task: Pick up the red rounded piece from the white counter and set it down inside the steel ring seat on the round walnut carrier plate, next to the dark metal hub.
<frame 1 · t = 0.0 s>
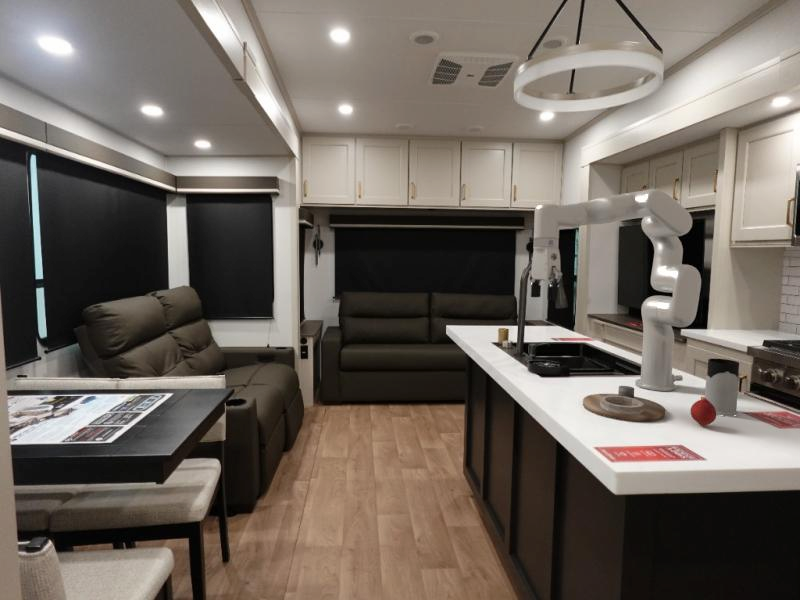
hand: (543, 298, 154), 31 cm above the worktop, tool pointing down, fingers open, 9 cm apart
carrier plate: (622, 409, 142), on the worktop
red rounded piece: (702, 426, 129), on the worktop
glass holder: (716, 409, 144), on the worktop
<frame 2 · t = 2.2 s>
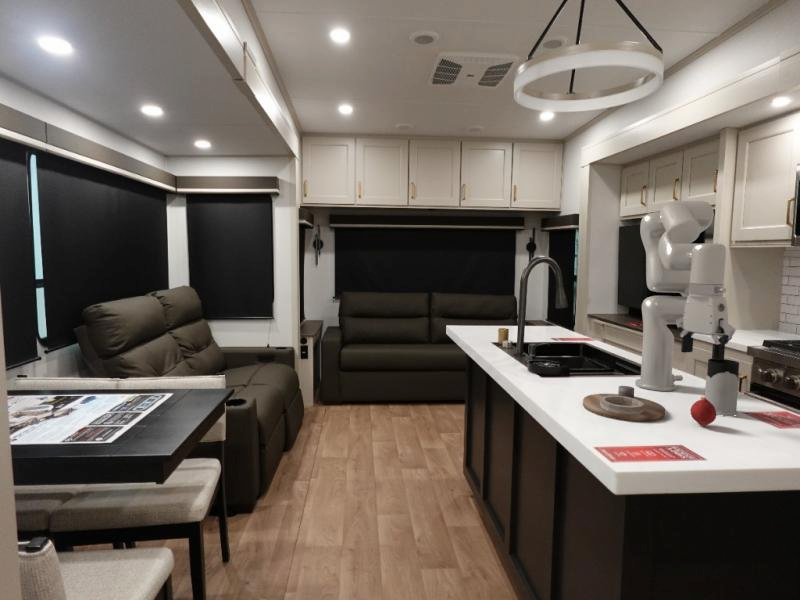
hand: (701, 355, 128), 19 cm above the worktop, tool pointing down, fingers open, 9 cm apart
nothing on the worktop moved.
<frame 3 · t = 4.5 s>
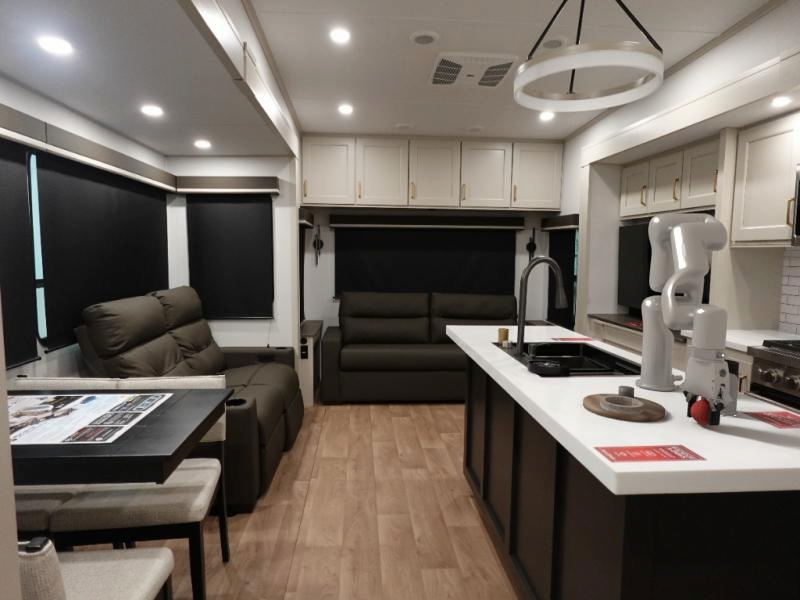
hand: (702, 420, 129), 2 cm above the worktop, tool pointing down, fingers closed on red rounded piece, 5 cm apart
red rounded piece: (702, 426, 129), on the worktop, touching gripper
everything else where it was.
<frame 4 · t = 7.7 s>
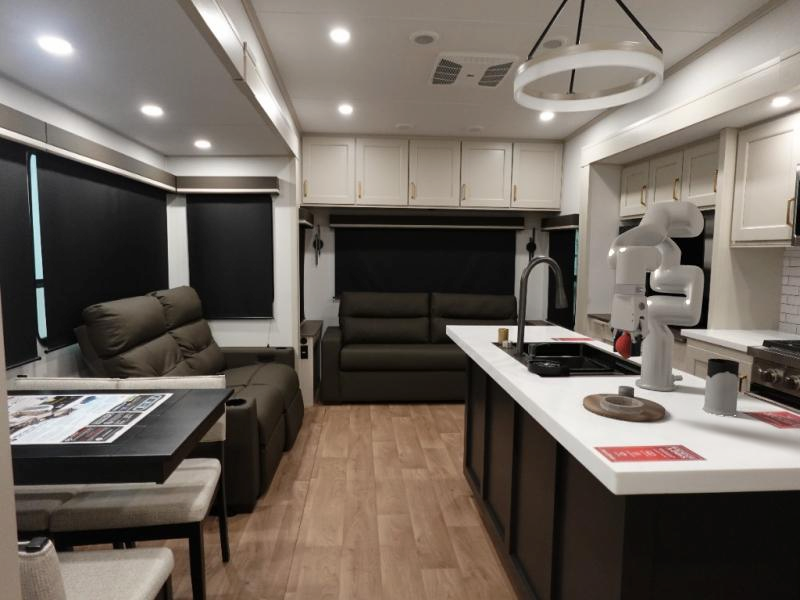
hand: (626, 353, 137), 17 cm above the worktop, tool pointing down, fingers closed on red rounded piece, 5 cm apart
red rounded piece: (626, 359, 137), point 16 cm above the worktop, touching gripper
everything else where it was.
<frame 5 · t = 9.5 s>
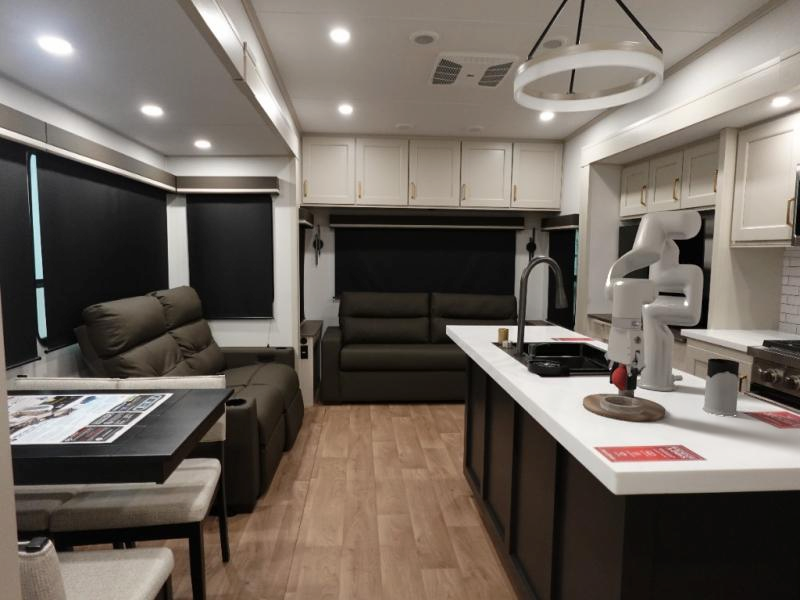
hand: (622, 385, 138), 8 cm above the worktop, tool pointing down, fingers closed on red rounded piece, 5 cm apart
red rounded piece: (622, 392, 138), point 6 cm above the worktop, touching gripper
everything else where it was.
when the fingers open (4 cm above the worktop, at t = 11.1 s): red rounded piece drops 1 cm, resting on carrier plate.
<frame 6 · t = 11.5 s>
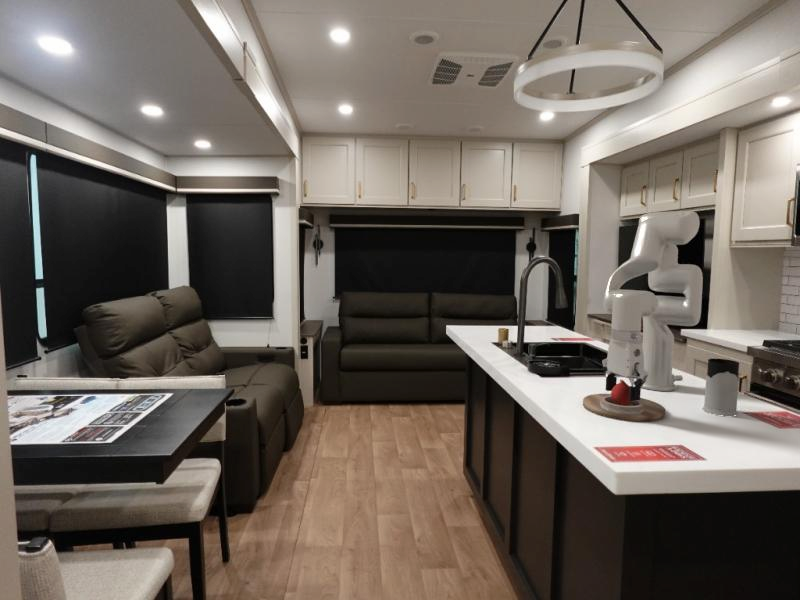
hand: (622, 395, 138), 5 cm above the worktop, tool pointing down, fingers open, 9 cm apart
red rounded piece: (621, 408, 139), point 1 cm above the worktop, touching carrier plate
everything else where it was.
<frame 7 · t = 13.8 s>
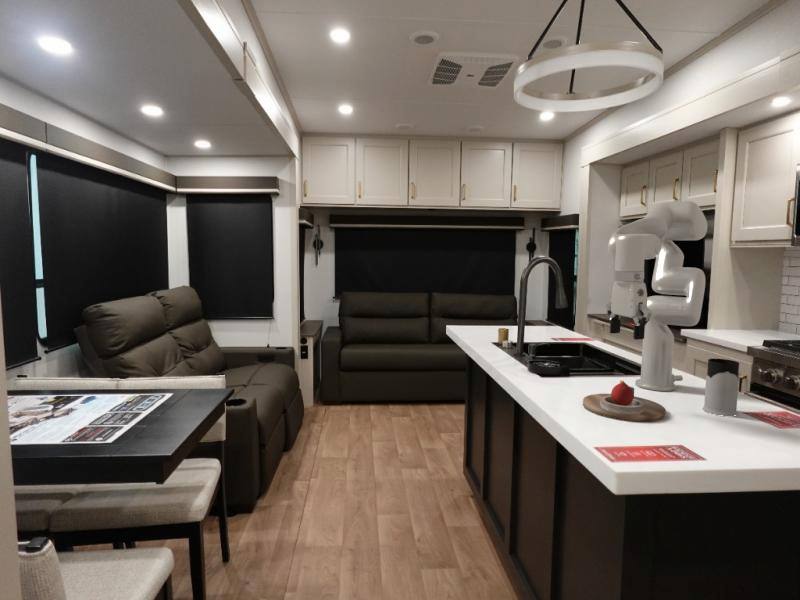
hand: (626, 336, 142), 22 cm above the worktop, tool pointing down, fingers open, 9 cm apart
nothing on the worktop moved.
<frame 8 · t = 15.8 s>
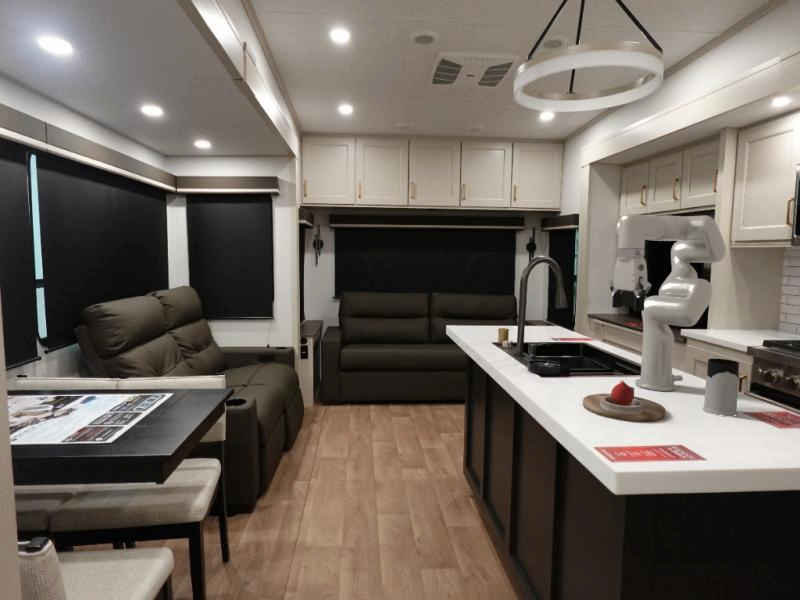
hand: (627, 309, 153), 28 cm above the worktop, tool pointing down, fingers open, 9 cm apart
nothing on the worktop moved.
at the end: red rounded piece 0.3 cm from the target spot on the carrier plate, point 1.3 cm above the carrier plate's base; the gripper is holding nothing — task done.
